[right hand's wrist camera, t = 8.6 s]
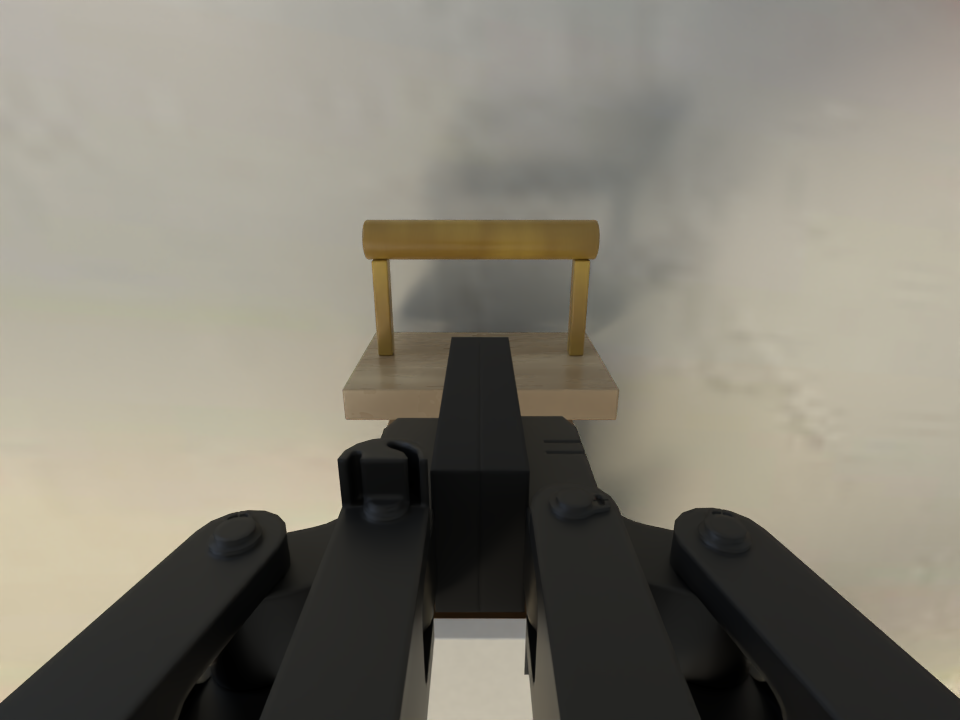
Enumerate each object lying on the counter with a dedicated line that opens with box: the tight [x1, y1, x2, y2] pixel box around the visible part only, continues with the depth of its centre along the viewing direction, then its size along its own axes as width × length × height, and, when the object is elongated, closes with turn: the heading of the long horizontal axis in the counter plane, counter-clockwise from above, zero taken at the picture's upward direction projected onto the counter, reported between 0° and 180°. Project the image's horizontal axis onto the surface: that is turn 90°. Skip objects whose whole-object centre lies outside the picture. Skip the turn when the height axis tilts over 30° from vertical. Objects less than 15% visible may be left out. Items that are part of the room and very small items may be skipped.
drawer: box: [343, 220, 619, 619], centre depth 24 cm, size 24×10×6 cm, turn 0°
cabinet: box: [427, 618, 533, 720], centre depth 29 cm, size 20×11×8 cm, turn 0°
